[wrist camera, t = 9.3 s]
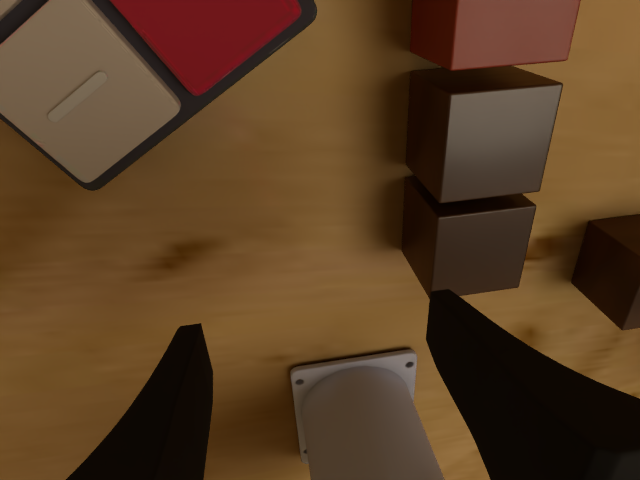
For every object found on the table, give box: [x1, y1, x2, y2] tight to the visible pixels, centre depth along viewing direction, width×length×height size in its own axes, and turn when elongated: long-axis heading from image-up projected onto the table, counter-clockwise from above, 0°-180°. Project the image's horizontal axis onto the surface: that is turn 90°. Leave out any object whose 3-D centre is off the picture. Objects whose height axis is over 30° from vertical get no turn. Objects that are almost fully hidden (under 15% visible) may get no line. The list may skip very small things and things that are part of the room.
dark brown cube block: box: [402, 176, 536, 299], centre depth 22 cm, size 4×4×4 cm
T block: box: [406, 66, 563, 203], centre depth 19 cm, size 4×4×4 cm
